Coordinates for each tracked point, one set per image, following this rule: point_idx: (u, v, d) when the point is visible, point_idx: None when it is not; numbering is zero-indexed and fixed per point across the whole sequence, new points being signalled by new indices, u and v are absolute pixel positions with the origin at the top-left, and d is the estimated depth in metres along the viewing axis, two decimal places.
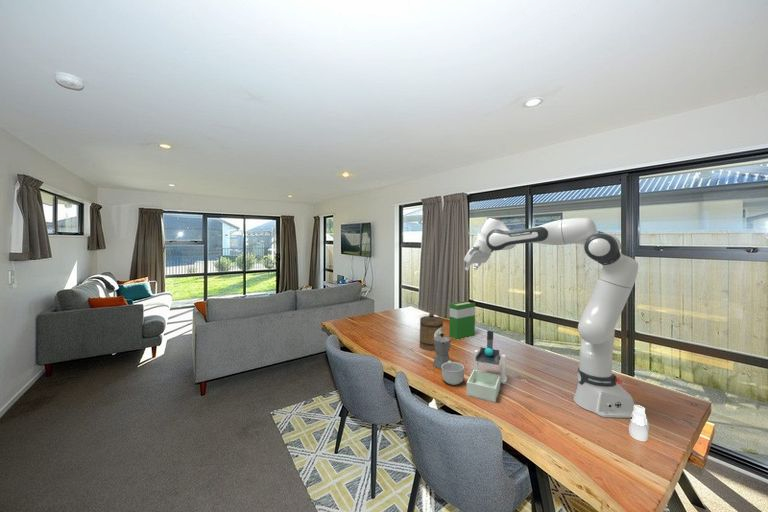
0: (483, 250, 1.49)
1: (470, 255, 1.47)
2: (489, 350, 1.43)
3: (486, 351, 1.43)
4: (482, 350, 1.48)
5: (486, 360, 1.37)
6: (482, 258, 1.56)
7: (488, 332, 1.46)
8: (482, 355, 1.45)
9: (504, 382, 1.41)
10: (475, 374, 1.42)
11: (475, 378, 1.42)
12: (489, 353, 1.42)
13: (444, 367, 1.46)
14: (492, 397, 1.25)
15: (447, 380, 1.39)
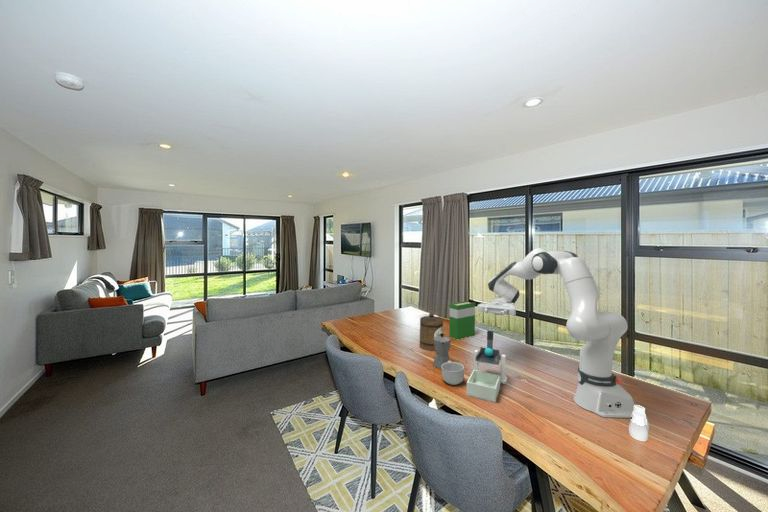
0: None
1: None
2: (489, 350, 1.43)
3: (486, 351, 1.43)
4: (482, 350, 1.48)
5: (486, 360, 1.37)
6: (501, 306, 1.63)
7: (488, 332, 1.46)
8: (482, 355, 1.45)
9: (504, 382, 1.41)
10: (475, 374, 1.42)
11: (475, 378, 1.42)
12: (489, 353, 1.42)
13: (444, 367, 1.46)
14: (492, 397, 1.25)
15: (447, 380, 1.39)
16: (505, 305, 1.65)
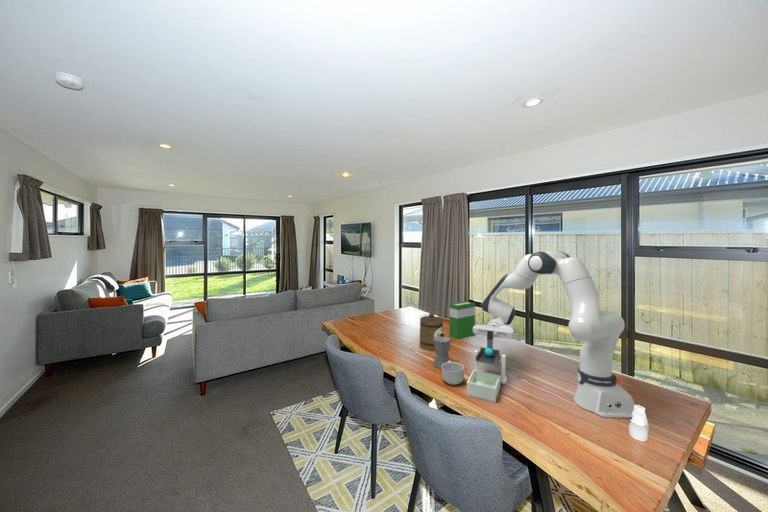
0: (488, 322, 1.60)
1: None
2: (489, 350, 1.43)
3: (486, 351, 1.43)
4: (482, 350, 1.48)
5: (486, 360, 1.37)
6: (498, 329, 1.53)
7: (488, 332, 1.46)
8: (482, 355, 1.45)
9: (504, 382, 1.41)
10: (475, 374, 1.42)
11: (475, 378, 1.42)
12: (489, 353, 1.42)
13: (444, 367, 1.46)
14: (492, 397, 1.25)
15: (447, 380, 1.39)
16: (502, 327, 1.54)
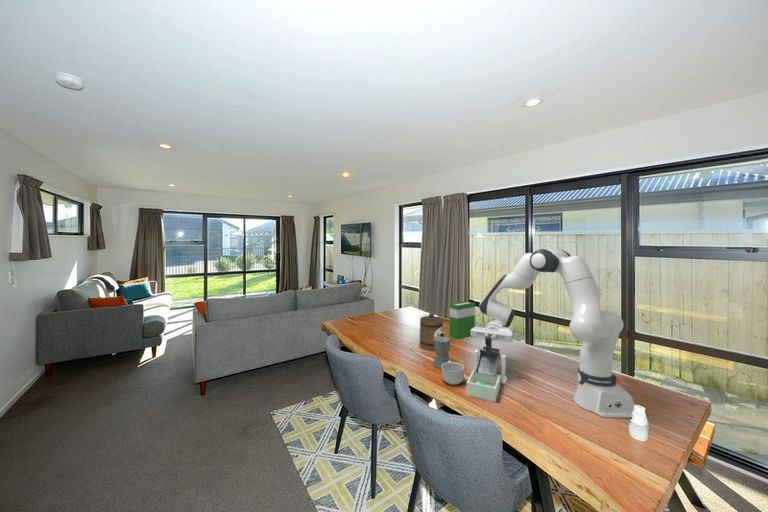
0: (486, 325, 1.56)
1: None
2: None
3: None
4: (482, 352, 1.47)
5: (486, 371, 1.38)
6: (497, 331, 1.48)
7: (486, 339, 1.41)
8: (482, 359, 1.45)
9: (504, 382, 1.41)
10: (475, 374, 1.42)
11: (475, 378, 1.42)
12: None
13: (444, 367, 1.46)
14: (492, 397, 1.25)
15: (447, 380, 1.39)
16: (501, 330, 1.50)
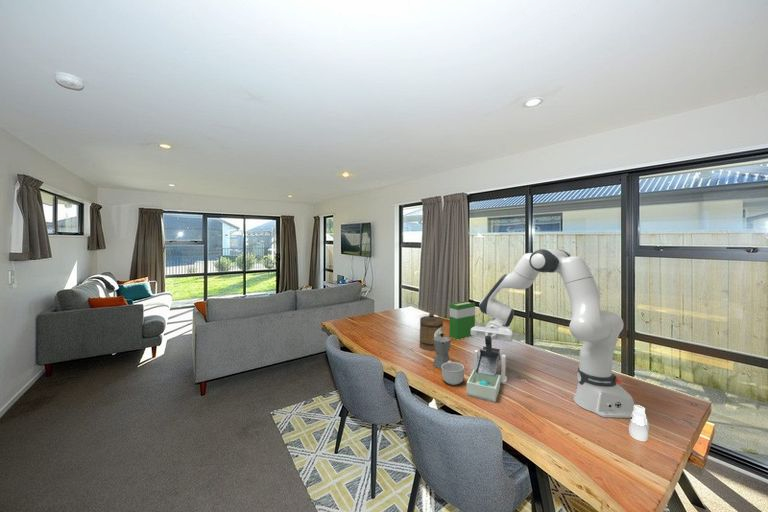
0: (486, 324, 1.56)
1: None
2: None
3: None
4: (482, 352, 1.47)
5: (486, 371, 1.38)
6: (497, 331, 1.49)
7: (486, 339, 1.41)
8: (482, 359, 1.45)
9: (504, 382, 1.41)
10: (475, 374, 1.42)
11: (475, 378, 1.42)
12: None
13: (444, 367, 1.46)
14: (492, 397, 1.25)
15: (447, 380, 1.39)
16: (501, 329, 1.50)
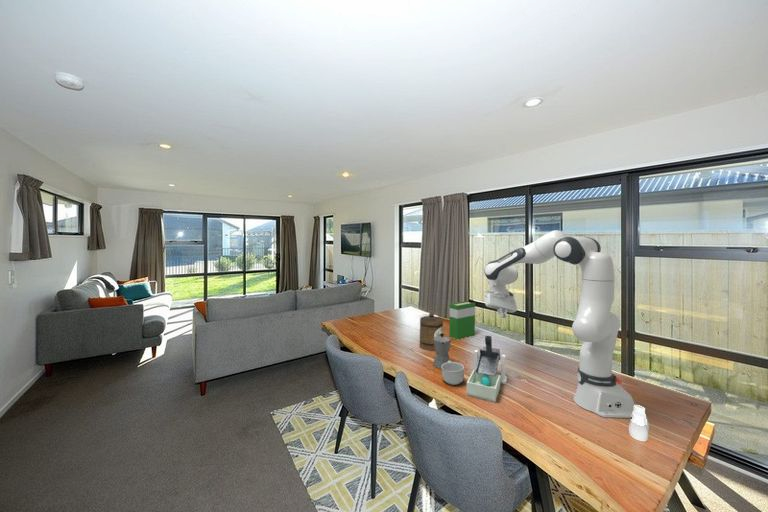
0: (498, 291, 1.59)
1: (487, 297, 1.56)
2: None
3: (483, 377, 1.38)
4: (482, 352, 1.47)
5: (486, 371, 1.38)
6: (506, 303, 1.59)
7: (486, 339, 1.41)
8: (482, 359, 1.45)
9: (504, 382, 1.41)
10: (475, 374, 1.42)
11: (475, 378, 1.42)
12: (486, 378, 1.36)
13: (444, 367, 1.46)
14: (492, 397, 1.25)
15: (447, 380, 1.39)
16: (508, 299, 1.61)
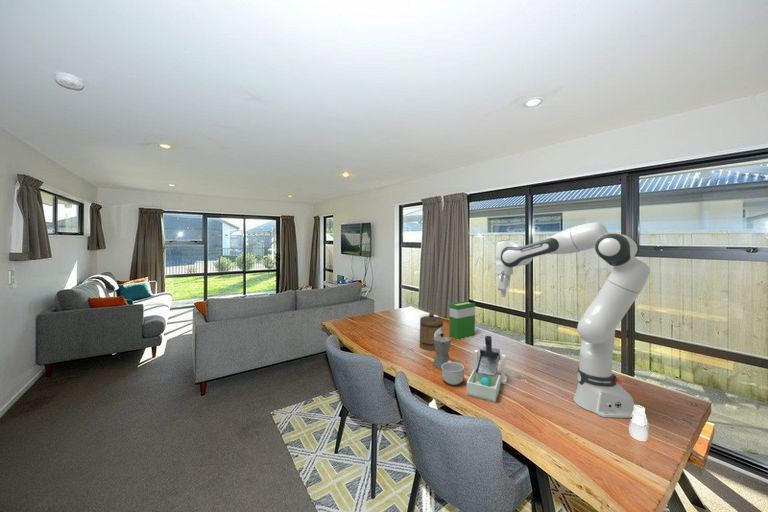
0: (509, 272, 1.50)
1: (502, 282, 1.46)
2: (486, 378, 1.36)
3: (482, 379, 1.36)
4: (482, 352, 1.47)
5: (486, 371, 1.38)
6: (508, 281, 1.57)
7: (486, 339, 1.41)
8: (482, 359, 1.45)
9: (504, 382, 1.41)
10: (475, 374, 1.42)
11: (475, 378, 1.42)
12: (486, 381, 1.35)
13: (444, 367, 1.46)
14: (492, 397, 1.25)
15: (447, 380, 1.39)
16: None
